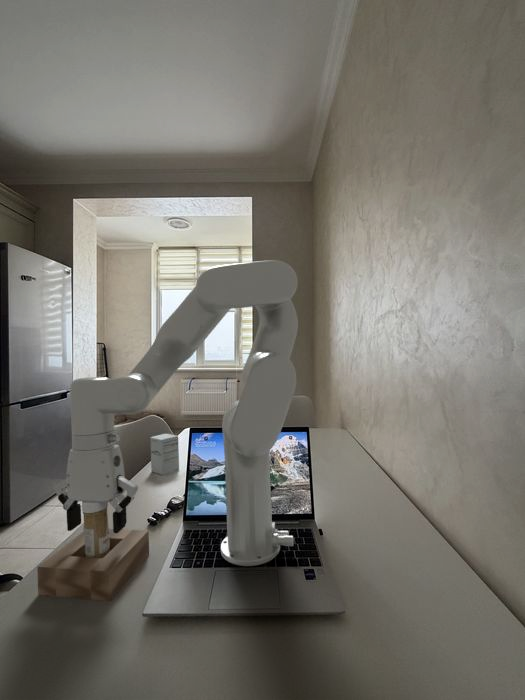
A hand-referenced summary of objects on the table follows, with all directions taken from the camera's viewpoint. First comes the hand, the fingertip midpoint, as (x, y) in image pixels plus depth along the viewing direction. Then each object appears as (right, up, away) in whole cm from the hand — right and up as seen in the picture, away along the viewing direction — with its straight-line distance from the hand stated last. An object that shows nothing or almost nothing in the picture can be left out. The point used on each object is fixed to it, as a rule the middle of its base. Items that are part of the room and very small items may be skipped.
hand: (96, 528), depth 69 cm
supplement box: (-3, -9, +59) cm, 60 cm away
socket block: (0, -9, 0) cm, 9 cm away
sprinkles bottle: (0, -8, 0) cm, 8 cm away
